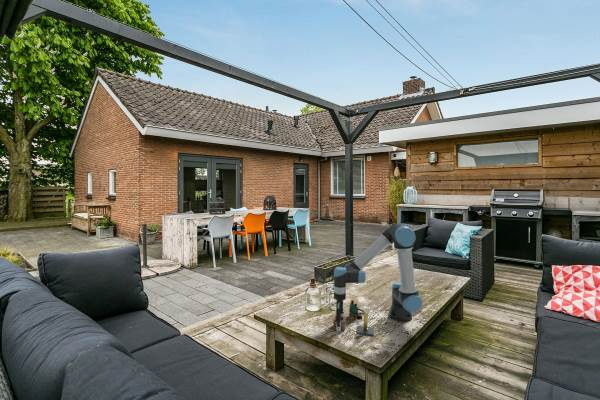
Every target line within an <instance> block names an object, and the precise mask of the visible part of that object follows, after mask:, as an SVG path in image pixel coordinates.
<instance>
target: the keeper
mask: <svg viewBox="0 0 600 400" xmlns="http://www.w3.org/2000/svg"><path fill="white" fill-rule="evenodd" d="M363 313H364V314H363V325H357V330H356V334H357V335H361V336H362V335H363V336H371V337H374V335H375V327H374V326H373V327H372V326H369V325H368V323H369V321H368V320H369V313H368V312H367V311H364V312H363Z"/></svg>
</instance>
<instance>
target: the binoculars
mask: <svg viewBox="0 0 600 400" xmlns="http://www.w3.org/2000/svg"><path fill="white" fill-rule="evenodd" d="M348 311H349V312H348V317H352V318H351V319H353V320H357V319H362V318H363V316H364V312H365V311H364V310H363V309H362V308H359V306H358V303H355V301H354V300H353V299H352V300H350V303H349V309H348ZM359 311H360V312H359Z"/></svg>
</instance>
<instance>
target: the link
mask: <svg viewBox="0 0 600 400" xmlns="http://www.w3.org/2000/svg"><path fill="white" fill-rule="evenodd" d="M335 320H336V315H334V317H333V324H332V325H333V327H332V329H333V331H336V321H335ZM346 327H347V317H346V316H344V315H343V316H341V332H345V330H346Z"/></svg>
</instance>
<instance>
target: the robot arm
mask: <svg viewBox="0 0 600 400" xmlns="http://www.w3.org/2000/svg"><path fill="white" fill-rule="evenodd" d="M416 239H417V238H416V234H415V231H414V230H413V229H412V228H411V227H409V226H406V225H402V224H401V223H393V224H392V225H389V226H388V227H387V228H386V229H385V230H384V231H382V232H381V233H380V236H379V237H378V238H377V239H376V240H375V241H374V242H372V244H371V245H369V246H368V247H367V248H366V249H365V250H364V251H363V252H362V253H361V254H360V255H358V256H357V257H356V258H354V260H353V261H351V262H350V263H349V262H348V263H347V264H345V265H344V267H343V266H336V267H335V268H334V270H333V286H332V288H333V298H334V300H336V302H335V307H336V308H335V310H336V311H335V313H336V314H335V316H336V320H335V321H336V330H335V331H336V332H342V331H341V316H344V314H345V311H344V301H345V300H346V299H347V284H364V283H365V282H366V280H367V279H366V271H364V270H362V269H364V268H365V267H366V266H367V265H368V264H369V263H370V262H372V260H374V259H375V258H376V257H377V256H378V255H380V253H381V252H382V251H384V250H385V249H387V247H388V246H392V244H393V248H394V249H395V250H396V252H397V261H398V262H397V263H398V270H399V271H398V272H399V280H400V281H399V282H398V281H397V282H393V283H392V285H391V305H390V307H389V310H388V316H389V317H390V318H391V319H392V320H395V321H398V322H399V321H400V322H409V321H412V320H413V313H416V312H417V313H418V312H419V311H420V309H422V307H423V300H422V297H421V296H419V294H420V293H419V287H417V286H416V282H415V272H414V262H413V254H412V249H413V248H414V243H415V242H416Z"/></svg>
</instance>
